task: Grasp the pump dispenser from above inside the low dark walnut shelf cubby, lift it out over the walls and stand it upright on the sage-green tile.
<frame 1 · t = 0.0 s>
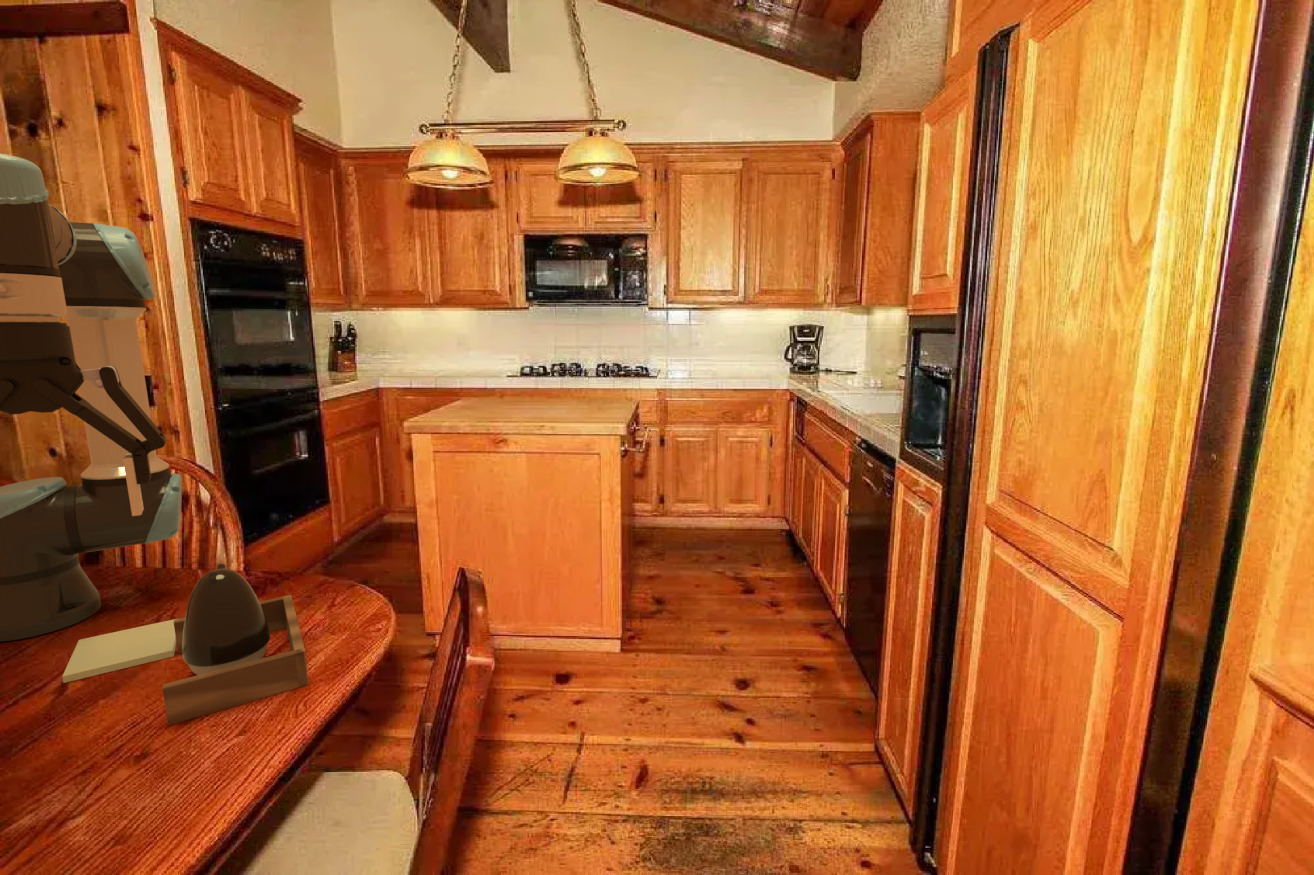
hand: (54, 524, 64), 28 cm above the table, tool pointing down, fingers open, 13 cm apart
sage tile: (126, 650, 91), on the table
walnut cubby: (239, 666, 87), on the table
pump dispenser: (231, 670, 87), on the table
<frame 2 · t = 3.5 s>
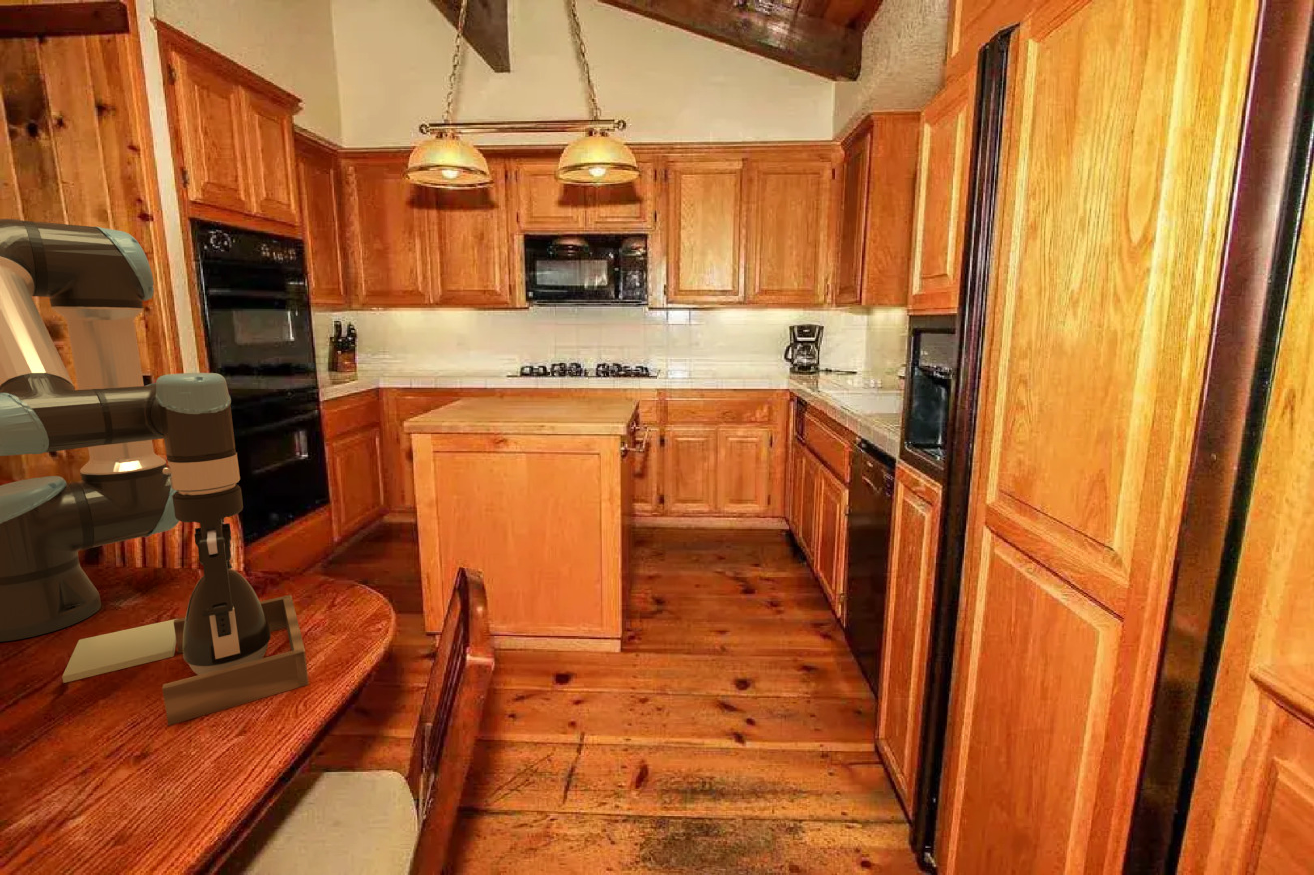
hand: (227, 638, 86), 5 cm above the table, tool pointing down, fingers closed on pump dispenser, 10 cm apart
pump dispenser: (232, 670, 87), on the table, touching gripper
when the fingers open (7 cm above the table, at t = 9.8 s): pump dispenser stays where it is, resting on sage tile.
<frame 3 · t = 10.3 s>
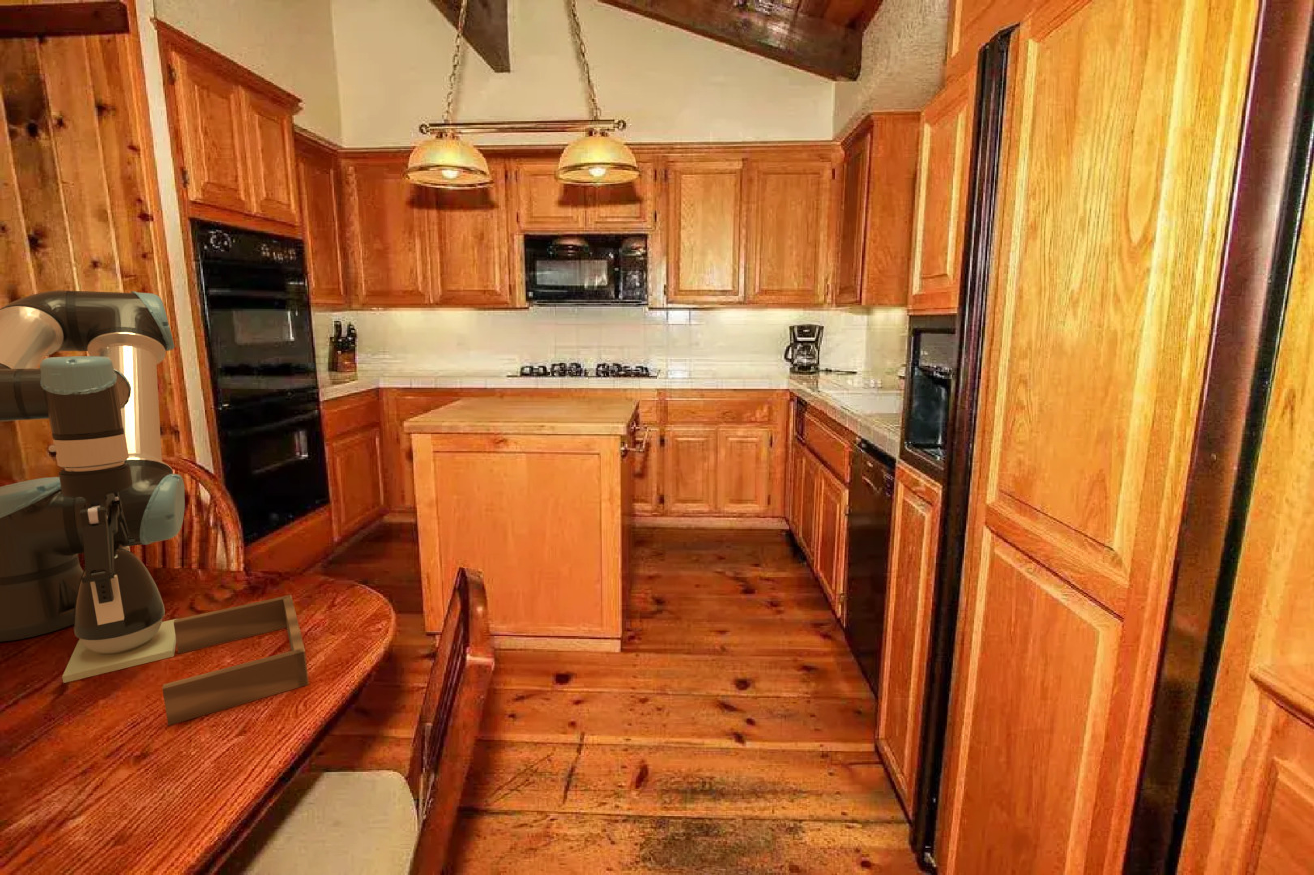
hand: (118, 603, 90), 8 cm above the table, tool pointing down, fingers open, 13 cm apart
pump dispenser: (125, 645, 91), point 1 cm above the table, touching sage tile
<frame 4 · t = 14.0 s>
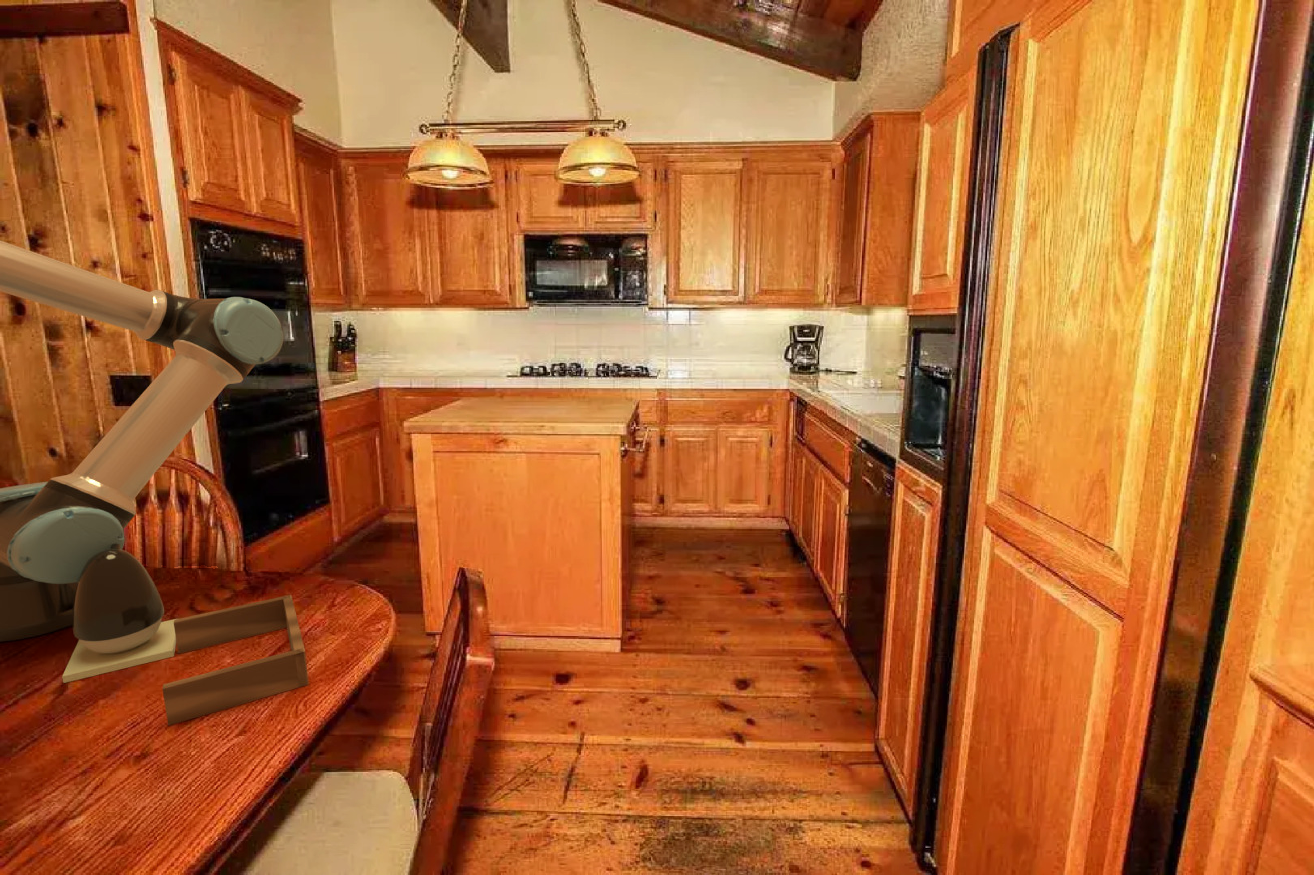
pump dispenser: (125, 644, 91), point 1 cm above the table, touching arm, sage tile
at the end: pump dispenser inside the target area on the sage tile (0.1 cm from its centre), point 1.0 cm above the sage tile's base; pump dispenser tilted 3°; the gripper is holding nothing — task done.
